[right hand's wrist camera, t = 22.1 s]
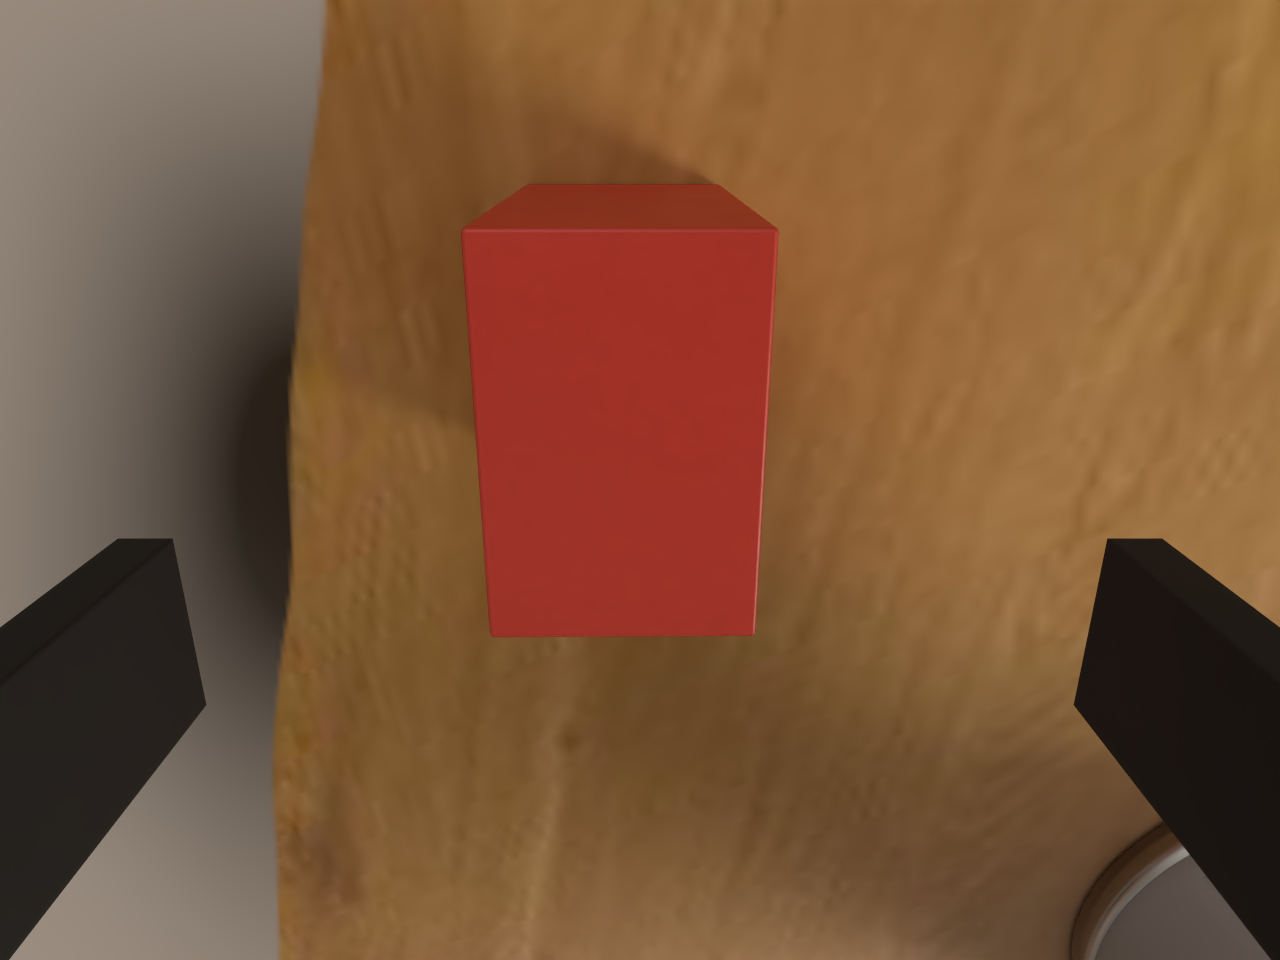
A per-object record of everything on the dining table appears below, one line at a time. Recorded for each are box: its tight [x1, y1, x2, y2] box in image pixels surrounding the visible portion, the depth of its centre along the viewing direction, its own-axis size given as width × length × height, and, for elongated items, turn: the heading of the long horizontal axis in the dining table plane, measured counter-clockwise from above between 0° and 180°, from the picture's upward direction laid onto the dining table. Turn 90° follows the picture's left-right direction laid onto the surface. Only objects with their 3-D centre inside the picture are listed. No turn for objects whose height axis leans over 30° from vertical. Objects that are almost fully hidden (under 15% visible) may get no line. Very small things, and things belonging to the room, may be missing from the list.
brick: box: [461, 184, 779, 637], centre depth 23 cm, size 9×6×11 cm, turn 0°
